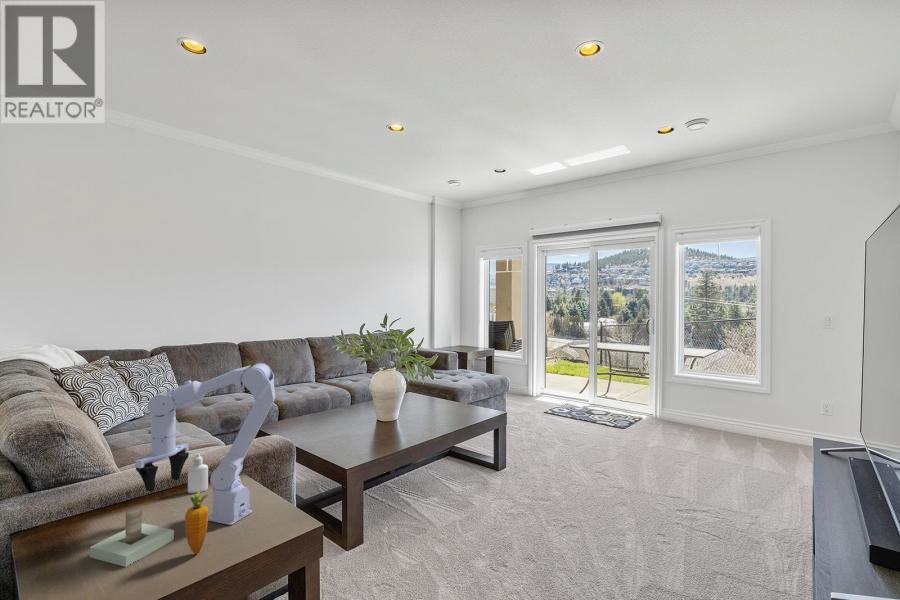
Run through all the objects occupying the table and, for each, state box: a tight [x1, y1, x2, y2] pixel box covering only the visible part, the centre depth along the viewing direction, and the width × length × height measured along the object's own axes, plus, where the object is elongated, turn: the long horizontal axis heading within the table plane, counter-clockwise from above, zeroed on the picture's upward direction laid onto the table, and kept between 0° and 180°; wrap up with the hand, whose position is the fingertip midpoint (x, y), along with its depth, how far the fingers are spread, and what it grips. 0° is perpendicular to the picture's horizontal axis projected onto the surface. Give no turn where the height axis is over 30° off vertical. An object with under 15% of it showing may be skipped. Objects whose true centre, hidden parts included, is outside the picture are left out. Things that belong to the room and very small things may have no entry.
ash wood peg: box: [124, 506, 143, 545], centre depth 106 cm, size 3×3×10 cm
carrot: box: [184, 491, 209, 555], centre depth 104 cm, size 5×5×15 cm
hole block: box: [89, 522, 175, 568], centre depth 106 cm, size 12×12×2 cm
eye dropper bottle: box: [187, 453, 209, 494], centre depth 139 cm, size 4×6×12 cm
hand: (163, 484), depth 119 cm, fingers open, 7 cm apart
